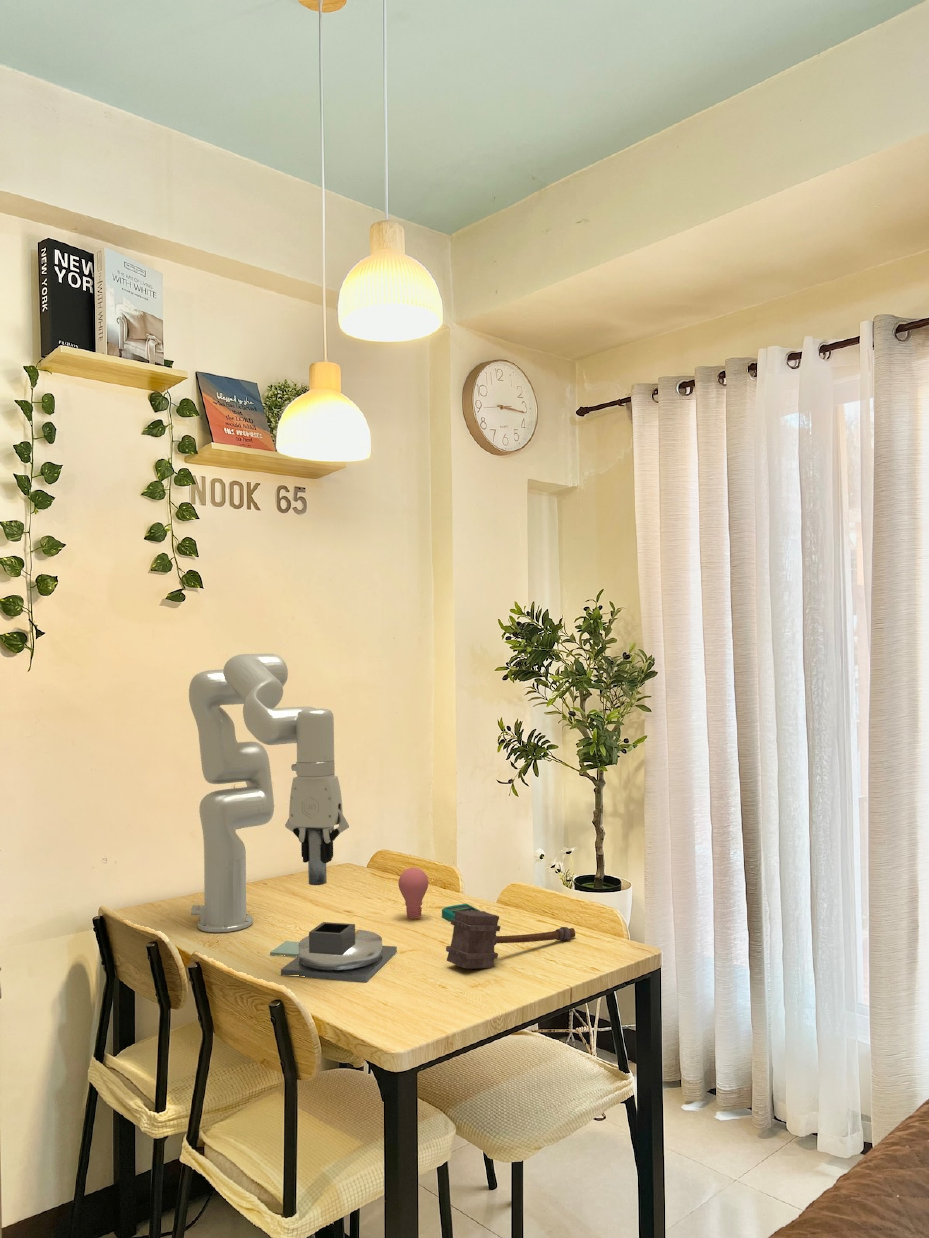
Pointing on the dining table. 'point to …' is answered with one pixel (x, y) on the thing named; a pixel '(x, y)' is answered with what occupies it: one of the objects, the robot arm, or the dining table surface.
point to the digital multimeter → (450, 911)
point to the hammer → (487, 939)
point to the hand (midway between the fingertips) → (317, 860)
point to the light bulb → (413, 890)
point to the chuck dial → (339, 947)
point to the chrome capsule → (316, 857)
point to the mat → (287, 949)
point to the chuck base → (346, 975)
